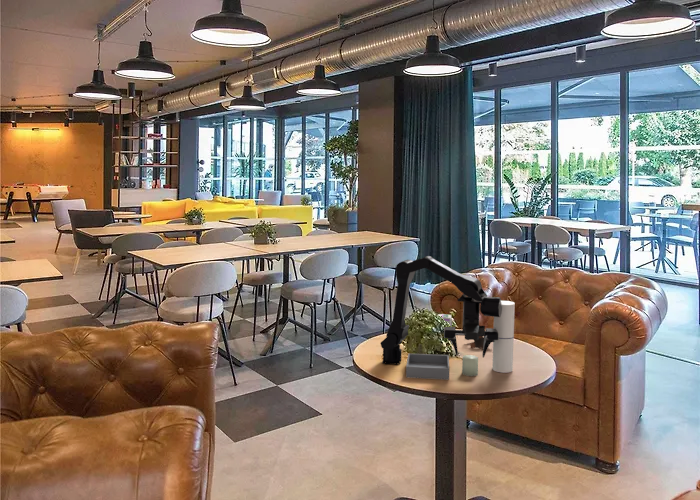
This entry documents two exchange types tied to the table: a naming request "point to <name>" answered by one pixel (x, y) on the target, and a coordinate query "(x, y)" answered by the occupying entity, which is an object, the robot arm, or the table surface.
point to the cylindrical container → (504, 339)
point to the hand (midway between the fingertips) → (470, 356)
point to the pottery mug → (478, 343)
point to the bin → (427, 366)
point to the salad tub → (470, 365)
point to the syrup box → (446, 317)
